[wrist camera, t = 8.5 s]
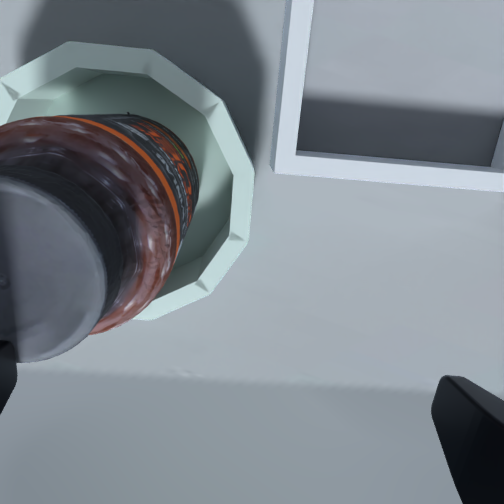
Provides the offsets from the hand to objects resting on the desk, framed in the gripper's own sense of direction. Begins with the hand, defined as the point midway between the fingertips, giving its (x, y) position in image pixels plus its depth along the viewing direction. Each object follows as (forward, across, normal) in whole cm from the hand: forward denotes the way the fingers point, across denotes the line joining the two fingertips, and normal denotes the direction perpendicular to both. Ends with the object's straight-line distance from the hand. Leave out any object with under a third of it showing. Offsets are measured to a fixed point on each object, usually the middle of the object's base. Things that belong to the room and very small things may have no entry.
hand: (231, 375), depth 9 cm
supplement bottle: (+12, +5, -2) cm, 13 cm away
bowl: (+12, +5, -1) cm, 13 cm away
